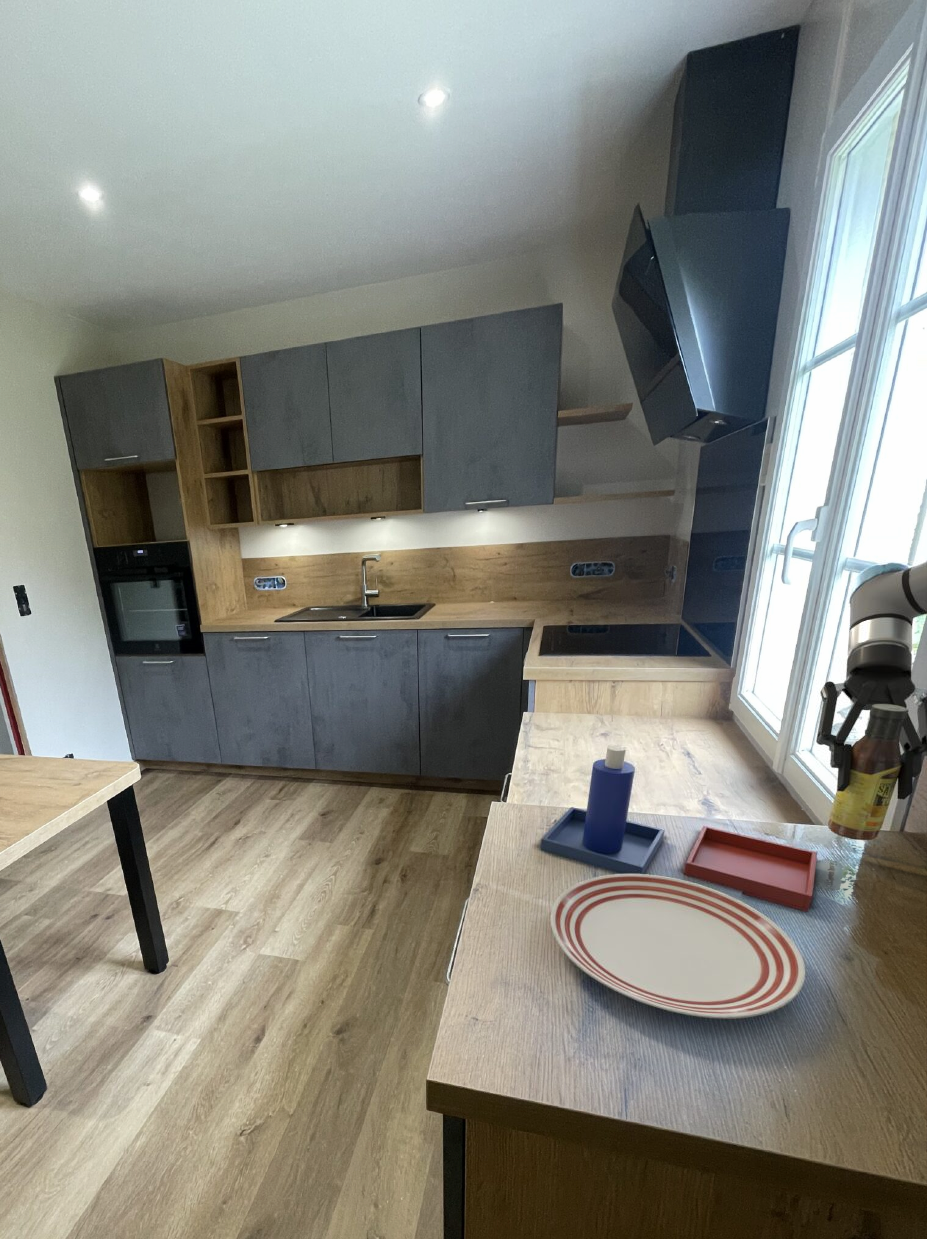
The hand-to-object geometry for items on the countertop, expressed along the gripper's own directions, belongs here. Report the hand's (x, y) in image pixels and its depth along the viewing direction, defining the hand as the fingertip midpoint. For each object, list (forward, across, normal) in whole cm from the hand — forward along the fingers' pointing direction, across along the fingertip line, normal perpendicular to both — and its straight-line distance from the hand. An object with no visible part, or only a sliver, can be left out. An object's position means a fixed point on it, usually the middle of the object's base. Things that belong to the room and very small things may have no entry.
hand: (873, 791), depth 87 cm
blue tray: (+15, +34, -3) cm, 37 cm away
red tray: (+14, +13, -4) cm, 20 cm away
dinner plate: (+32, +24, +14) cm, 42 cm away
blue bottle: (+15, +34, -2) cm, 37 cm away
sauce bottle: (+4, 0, -9) cm, 9 cm away
